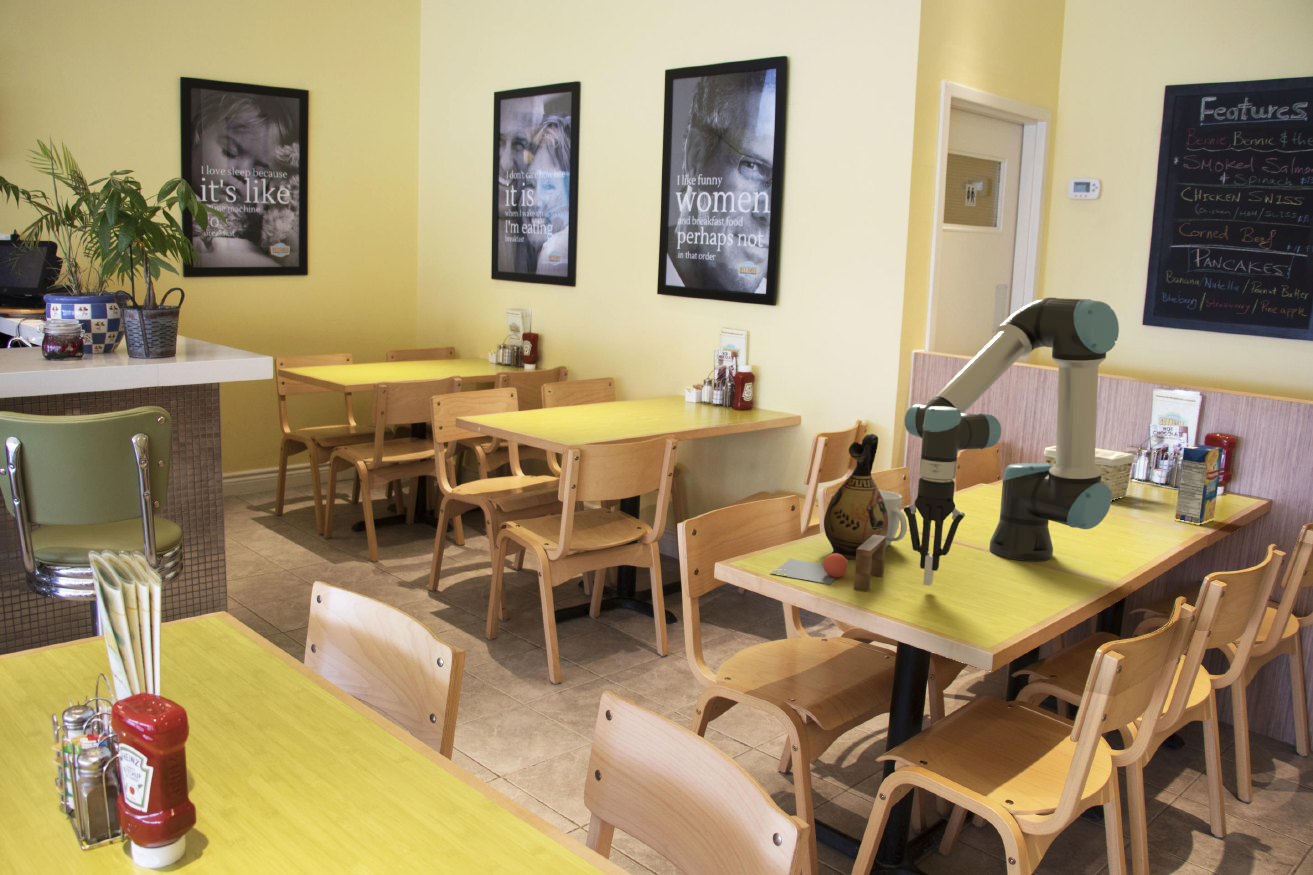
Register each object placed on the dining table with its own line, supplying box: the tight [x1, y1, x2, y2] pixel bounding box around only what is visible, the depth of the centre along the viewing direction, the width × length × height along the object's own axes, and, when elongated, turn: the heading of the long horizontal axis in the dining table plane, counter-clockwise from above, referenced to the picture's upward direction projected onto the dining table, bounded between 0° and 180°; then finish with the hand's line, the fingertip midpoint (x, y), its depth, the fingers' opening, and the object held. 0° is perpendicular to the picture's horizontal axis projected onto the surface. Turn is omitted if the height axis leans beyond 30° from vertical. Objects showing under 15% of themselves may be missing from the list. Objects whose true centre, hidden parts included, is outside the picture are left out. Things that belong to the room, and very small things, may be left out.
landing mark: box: [769, 558, 838, 586], centre depth 237 cm, size 14×14×1 cm
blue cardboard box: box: [1174, 444, 1224, 523], centre depth 302 cm, size 7×11×22 cm, turn 132°
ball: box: [822, 553, 849, 579], centre depth 234 cm, size 6×6×6 cm
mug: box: [879, 489, 908, 547], centre depth 262 cm, size 15×11×13 cm
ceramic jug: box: [823, 433, 888, 560], centre depth 251 cm, size 17×15×30 cm
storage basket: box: [1043, 445, 1135, 501], centre depth 335 cm, size 24×16×15 cm
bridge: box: [853, 534, 887, 592], centre depth 231 cm, size 3×14×9 cm, turn 154°
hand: (927, 583), depth 226 cm, fingers closed
